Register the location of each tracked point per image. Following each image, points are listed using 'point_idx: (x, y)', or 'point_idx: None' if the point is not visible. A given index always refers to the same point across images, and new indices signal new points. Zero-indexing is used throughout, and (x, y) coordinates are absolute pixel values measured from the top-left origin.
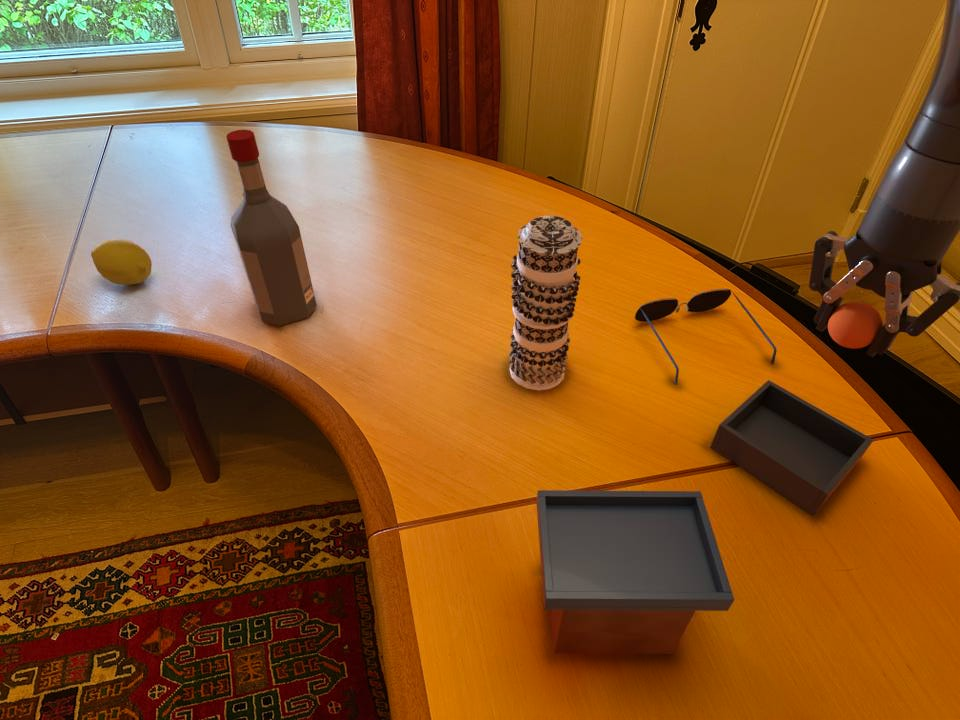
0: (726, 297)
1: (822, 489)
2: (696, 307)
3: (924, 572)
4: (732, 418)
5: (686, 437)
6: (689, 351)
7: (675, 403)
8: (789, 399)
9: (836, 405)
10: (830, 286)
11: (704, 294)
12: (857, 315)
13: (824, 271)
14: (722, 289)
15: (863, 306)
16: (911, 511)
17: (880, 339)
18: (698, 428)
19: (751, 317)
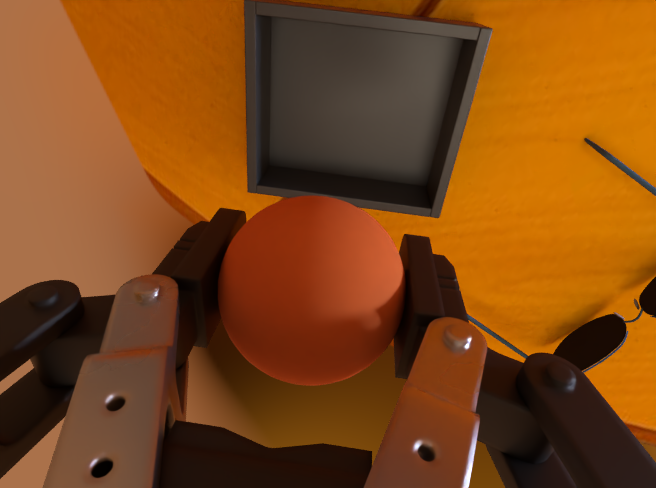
0: None
1: (257, 5)
2: (597, 327)
3: (103, 19)
4: (471, 68)
5: (528, 12)
6: (579, 233)
7: (574, 89)
8: (390, 199)
9: None
10: (480, 404)
11: (605, 351)
12: (301, 298)
13: (581, 486)
14: None
15: (301, 358)
16: (171, 126)
17: (196, 248)
18: (511, 56)
19: (506, 342)
